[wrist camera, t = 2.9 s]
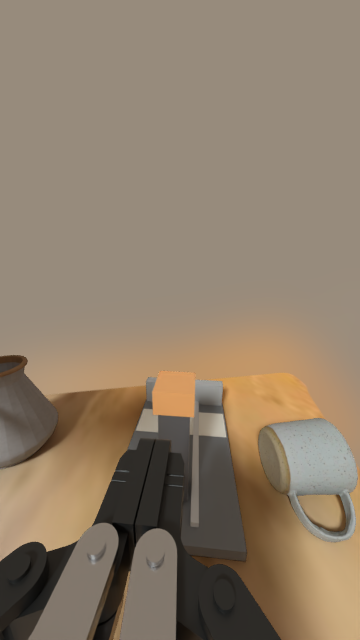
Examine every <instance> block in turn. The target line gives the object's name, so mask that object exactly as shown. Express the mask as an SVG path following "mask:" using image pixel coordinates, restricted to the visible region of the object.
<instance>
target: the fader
mask: <svg viewBox="0 0 360 640" xmlns="http://www.w3.org/2000/svg"><path fill="white" fill-rule="evenodd" d="M152 401H153V415H158V439H166V440H171V453H181V455H182V458H183V461H184V463H185V467H184V500H183V501H184V502H187V499H188V477H189V445H190V417H194V406H195V373H188V372H171V371H160V372H159V374H158V377H157V380H156V383H155V385H154V388H153V391H152Z"/></svg>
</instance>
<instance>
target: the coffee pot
mask: <svg viewBox="0 0 360 640" xmlns="http://www.w3.org/2000/svg"><path fill="white" fill-rule="evenodd" d="M26 364H27V359H26V357H24V356H20V355H10V356H2V357H0V469H3V468H7V467H10V466H13V465H16V464H18V463H20V462H22V461H24V460H26V459H27V458H29V457H30V456H32V455H33V454H34V453H35V452H36V451H38V450H39V449H40V448H41V446H42V445H44V443H45V442H46V441H47V440H48V439H49V437H50V436H51V435H52V434H53V432H54V429H55V427H56V425H57V422H58V412H57V410H56V408H55V407H54V406H53V405H52V404H51V403H50V401H49V400H48V399H47V398H46V397H45V396H44V395H43V394H42V393H41V391H40V390H39V389H38V388H37V387H36V386H35V385H34V384H33V383H32V381H31V380H30V379H29V378H28V377H27V376H26V375H25V374H24V366H25V365H26Z"/></svg>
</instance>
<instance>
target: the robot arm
mask: <svg viewBox="0 0 360 640" xmlns="http://www.w3.org/2000/svg"><path fill="white" fill-rule="evenodd" d="M184 467H185V463H184V461H183V458H182V455H181V453H171V440H166V439H150V438H140V440H139V443H138V446H137V449H136V450H130V449H128V450H127V451H126V452H125V453H124V455H123V456H122V457H121V458H120V460H119V462H118V465H117V467H116V470H115V472H114V475H113V477H112V481H111V482H110V485H109V487H108V490H107V492H106V495H105V497H104V500H103V502H102V504H101V507H100V509H99V512H98V514H97V517H96V519H95V521H94V523H93V525H92V527H90V528H89V529H88V530H87V531H85V533H84V534H83V535H82V536H81V537H80V539H79V540H78V541H77V542H75V543H73V544H71V545H68V546H65V547H62V548H58V549H55V550H52V551H48V552H46V548H45V547H44V545H43V544H41V543H39V542H30V543H27V544H24V545H22V546H20V547H19V548H17V549H16V550H14V551H13V552H12V553H10V554H9V555H8V556H7V557H5V558H4V559H3V560H1V561H0V640H113V638H114V634H115V630H116V627H117V623H118V619H119V616H120V612H121V608H122V604H123V598H124V589H125V585H126V581H127V576H128V572H129V571H131V573H130V579H129V585H128V591H127V597H126V603H125V609H124V615H123V621H122V627H121V633H120V639H119V640H281V639H280V637H279V636H278V634H277V633H276V631H275V630H274V628H273V627H272V625H271V624H270V622H269V621H268V619H267V618H266V616H265V615H264V613H263V611H262V610H261V608H260V607H259V605H258V604H257V602H256V601H255V599H254V598H253V596H252V595H251V593H250V592H249V590H248V589H247V587H246V586H245V584H244V582H243V581H242V579H241V578H240V577H239V575H238V574H237V573H236V572H235V571H234V570H233V569H231V568H230V567H228V566H226V565H223V564H217V565H213V566H211V567H210V568H208V567H206V566H205V565H203V564H201V563H200V562H198V561H196V560H195V559H193V558H192V557H191V556H190V555H189V554H188V553H187V551H186V550H185V548H184V546H183V544H182V541H181V531H182V516H183V500H184Z"/></svg>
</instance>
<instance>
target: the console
mask: <svg viewBox="0 0 360 640" xmlns="http://www.w3.org/2000/svg"><path fill="white" fill-rule="evenodd" d="M156 380H157V378H152V377H148V379H147V381H146V394H147V399H146V402H145V404H144V407H143V410H142V412H141V415H140V418H139V420H138V423H137V426H136V428H135V431H134V433H133V436H132V439H131V441H130V444H129V447H128V449H130V450H136V449H137V446H138V443H139V440H140V438H150V439H158V415H153V401H152V391H153V388H154V385H155V383H156ZM222 392H223V384H222V381H209V380H195V406H194V417H190V445H189V477H188V499H187V502H184V501H183V516H182V531H181V541H182V544H183V546H184V548H185V550H186V551H187V553H188V554H189V555H195V556H204V557H213V558H221V559H230V560H238V561H246V556H247V550H246V544H245V538H244V532H243V526H242V520H241V513H240V507H239V501H238V495H237V489H236V483H235V477H234V471H233V465H232V459H231V453H230V447H229V441H228V435H227V429H226V423H225V417H224V411H223V405H222ZM128 449H127V450H128Z"/></svg>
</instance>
